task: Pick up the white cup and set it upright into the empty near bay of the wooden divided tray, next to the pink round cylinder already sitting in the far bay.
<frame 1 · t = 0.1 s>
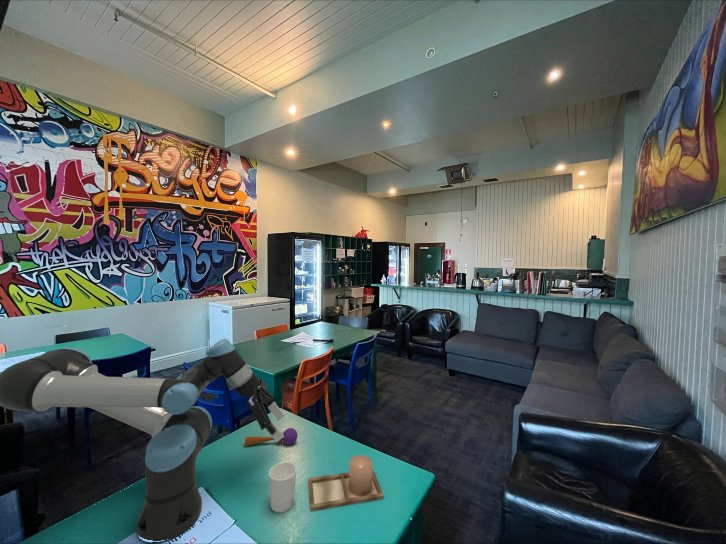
hand: (280, 428, 101), 15 cm above the table, tool tilted 35°, fingers open, 13 cm apart
white cup: (282, 504, 88), on the table
kendama: (271, 445, 117), on the table
wooden divided tray: (344, 493, 92), on the table
pink round cylinder: (360, 487, 94), point 1 cm above the table, touching wooden divided tray
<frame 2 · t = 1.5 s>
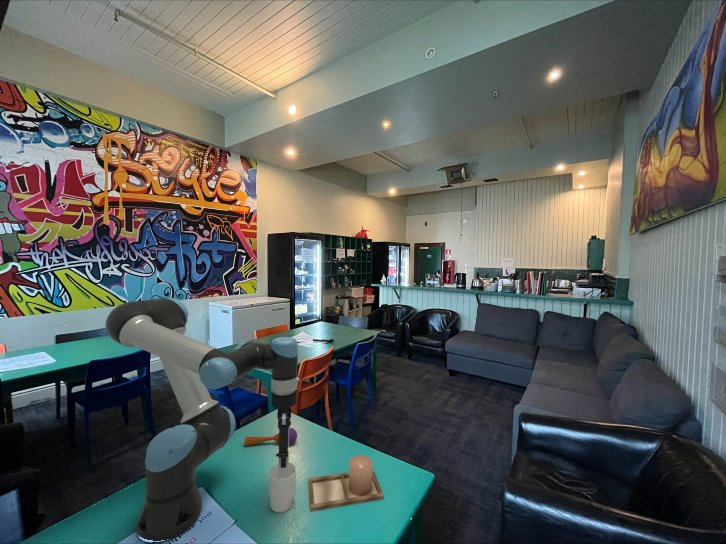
hand: (284, 461, 88), 13 cm above the table, tool pointing down, fingers open, 13 cm apart
nothing on the table moved.
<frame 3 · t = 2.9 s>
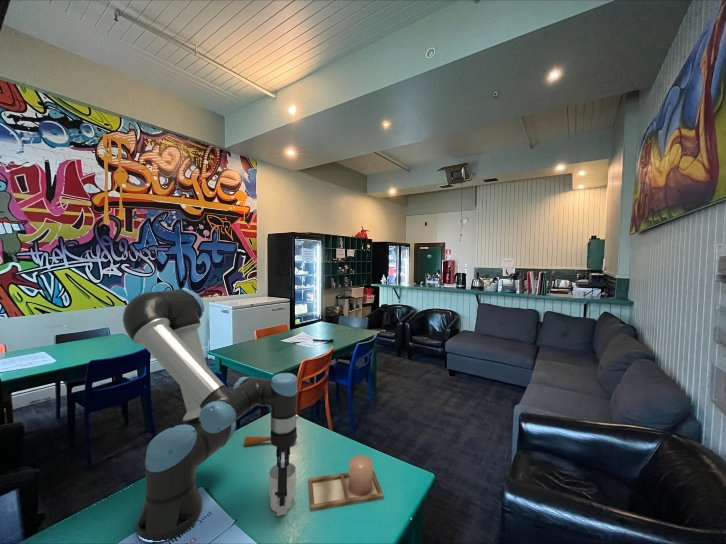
hand: (282, 502, 88), 0 cm above the table, tool pointing down, fingers open, 8 cm apart
white cup: (282, 504, 88), on the table, touching gripper
everything else where it was.
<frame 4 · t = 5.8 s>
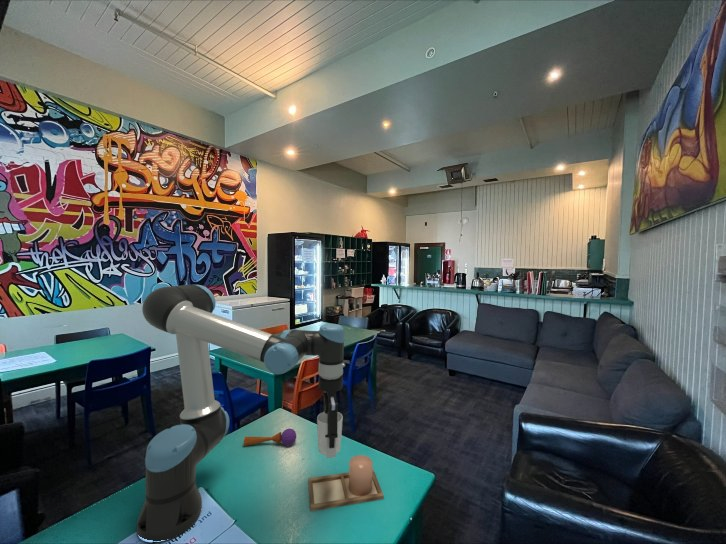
hand: (329, 448, 91), 15 cm above the table, tool pointing down, fingers closed on white cup, 7 cm apart
white cup: (329, 449, 91), point 15 cm above the table, touching gripper
everything else where it was.
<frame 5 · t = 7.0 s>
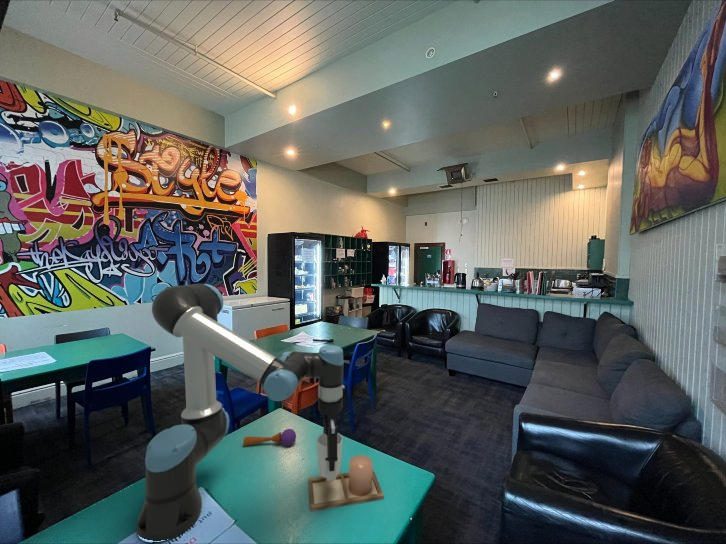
hand: (329, 469, 91), 8 cm above the table, tool pointing down, fingers closed on white cup, 7 cm apart
white cup: (329, 471, 91), point 8 cm above the table, touching gripper
everything else where it was.
when the fingers open (4 cm above the table, at t = 8.2 s): white cup drops 2 cm, resting on wooden divided tray.
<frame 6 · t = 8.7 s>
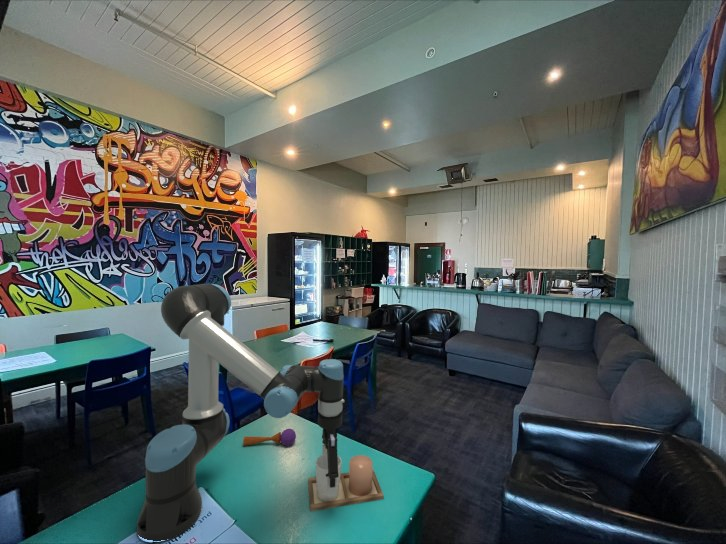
hand: (328, 479, 91), 5 cm above the table, tool pointing down, fingers open, 13 cm apart
white cup: (328, 493, 91), point 1 cm above the table, touching wooden divided tray
everything else where it was.
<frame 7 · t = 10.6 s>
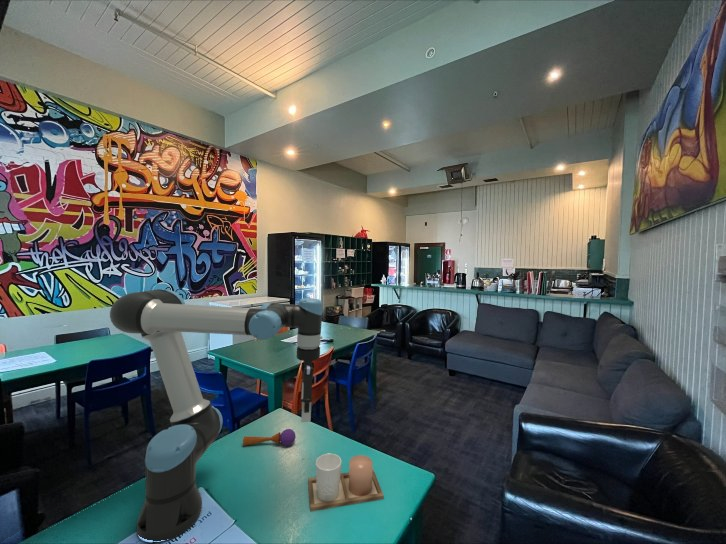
hand: (305, 410, 96), 24 cm above the table, tool pointing down, fingers open, 13 cm apart
nothing on the table moved.
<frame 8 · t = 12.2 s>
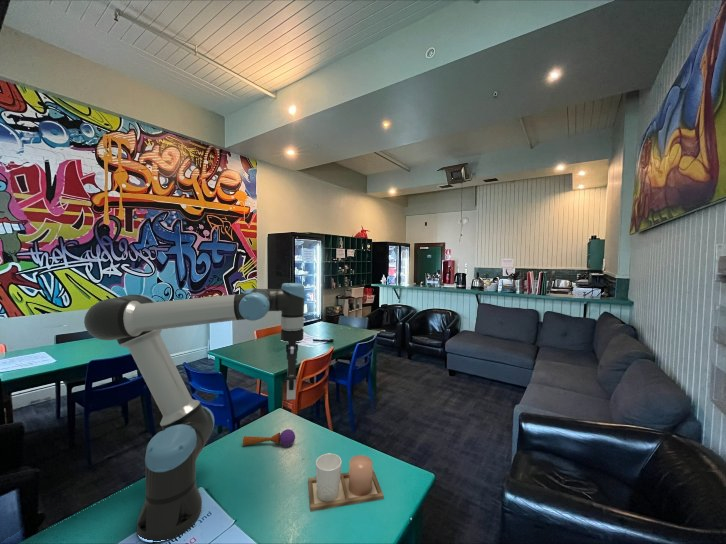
hand: (291, 390, 100), 29 cm above the table, tool pointing down, fingers open, 13 cm apart
nothing on the table moved.
at the end: white cup 0.4 cm from the target spot on the wooden divided tray, point 1.0 cm above the wooden divided tray's base; white cup tilted 0°; pink round cylinder moved 0.0 cm from its start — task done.
